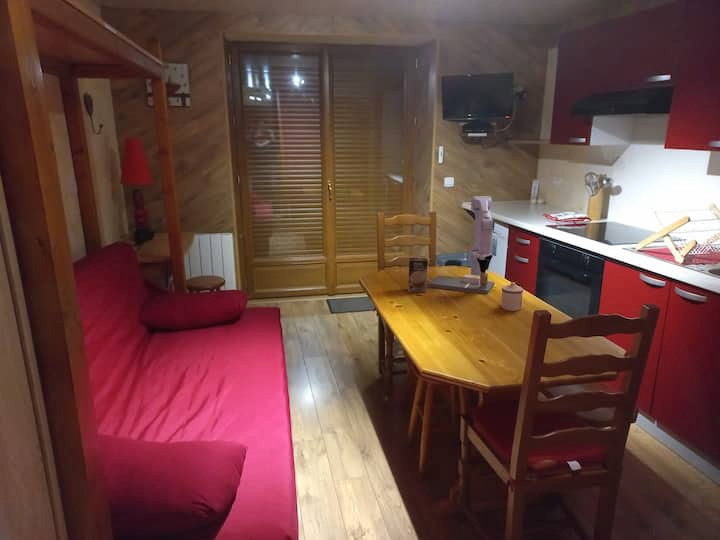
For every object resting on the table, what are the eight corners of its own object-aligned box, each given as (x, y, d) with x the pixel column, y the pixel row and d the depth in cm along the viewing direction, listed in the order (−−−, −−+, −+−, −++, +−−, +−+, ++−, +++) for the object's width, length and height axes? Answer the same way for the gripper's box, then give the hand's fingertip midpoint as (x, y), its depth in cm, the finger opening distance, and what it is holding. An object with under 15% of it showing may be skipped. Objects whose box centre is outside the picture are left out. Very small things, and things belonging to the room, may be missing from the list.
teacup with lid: (524, 311, 214) (526, 285, 211) (503, 311, 214) (505, 286, 211) (516, 302, 226) (518, 278, 223) (496, 302, 226) (497, 278, 223)
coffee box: (408, 292, 242) (408, 260, 238) (408, 288, 248) (408, 257, 244) (426, 292, 241) (427, 261, 237) (426, 288, 247) (427, 257, 243)
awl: (480, 285, 244) (481, 272, 242) (487, 286, 243) (488, 273, 241) (479, 288, 241) (479, 274, 239) (486, 288, 239) (487, 275, 238)
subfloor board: (437, 278, 264) (437, 275, 264) (494, 285, 251) (494, 281, 251) (428, 286, 250) (428, 283, 250) (487, 294, 238) (487, 290, 237)
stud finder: (465, 279, 255) (466, 274, 254) (481, 281, 251) (481, 275, 250) (463, 282, 250) (463, 276, 249) (478, 284, 247) (479, 278, 246)
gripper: (480, 240, 244) (479, 266, 248) (474, 245, 231) (472, 273, 235) (495, 241, 241) (493, 268, 245) (489, 247, 228) (487, 275, 232)
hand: (484, 271), depth 240 cm, fingers open, 5 cm apart
